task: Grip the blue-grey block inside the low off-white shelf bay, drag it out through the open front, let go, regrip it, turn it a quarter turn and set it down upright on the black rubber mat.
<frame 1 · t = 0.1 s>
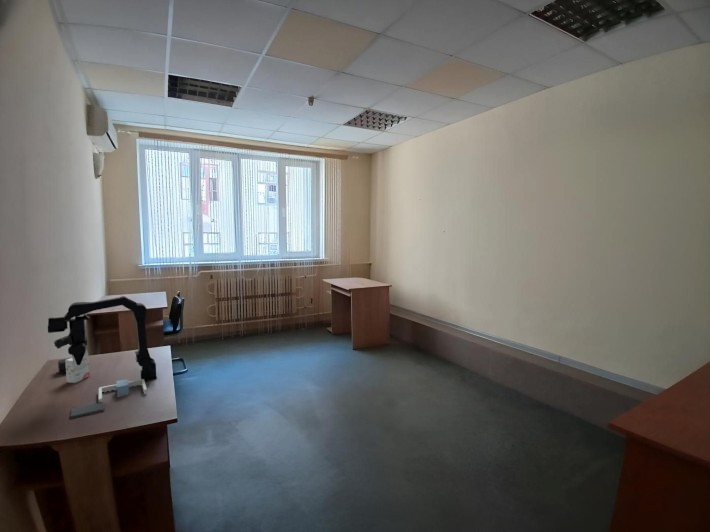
hand: (79, 362, 166), 15 cm above the table, tool pointing down, fingers open, 9 cm apart
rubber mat: (87, 410, 149), on the table
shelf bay: (122, 392, 167), on the table
blank block: (122, 393, 167), on the table
ink cartridge box: (78, 379, 180), on the table
end cap: (70, 371, 191), on the table
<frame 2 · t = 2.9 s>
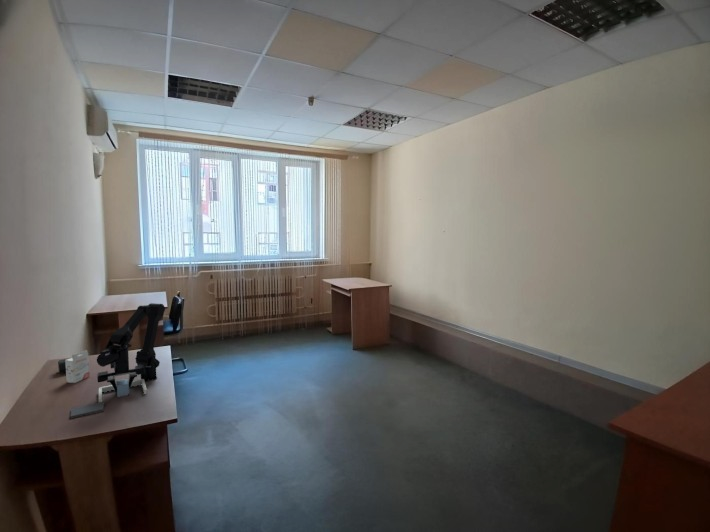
hand: (122, 390, 167), 1 cm above the table, tool pointing down, fingers closed on blank block, 4 cm apart
blank block: (122, 392, 167), on the table, touching gripper
everything else where it was.
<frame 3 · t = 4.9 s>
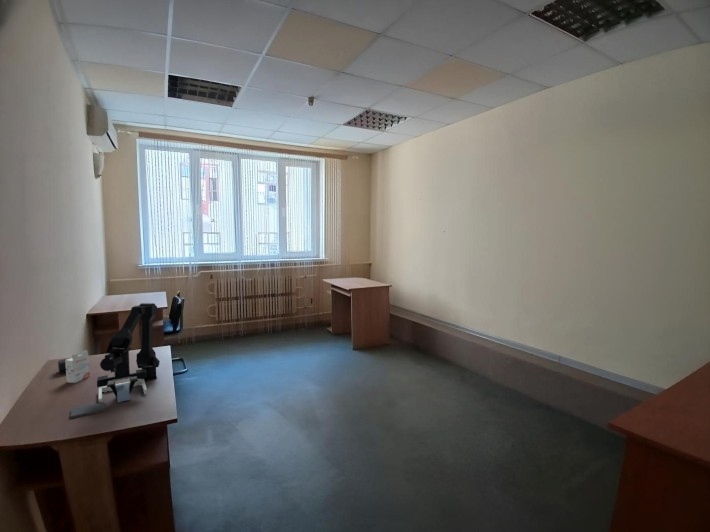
hand: (123, 395, 161), 1 cm above the table, tool pointing down, fingers closed on blank block, 4 cm apart
blank block: (123, 397, 161), on the table, touching gripper
everything else where it was.
when the fingers open (1 cm above the table, at t = 7.1 s): blank block stays where it is, on the table.
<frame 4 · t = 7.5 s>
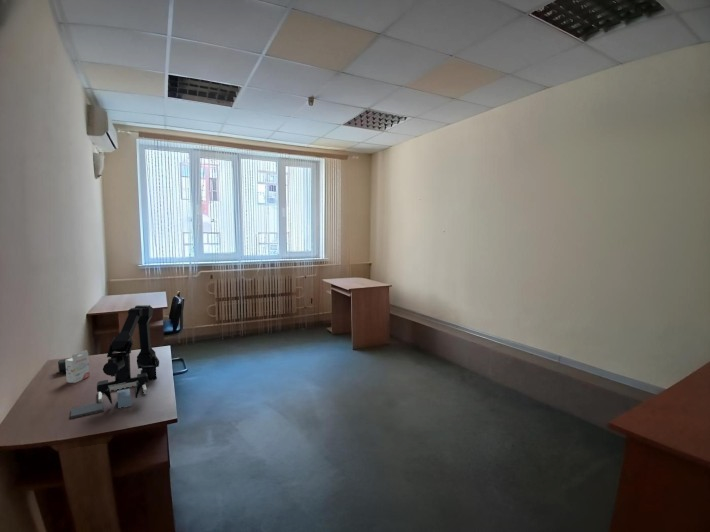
hand: (124, 400, 156), 1 cm above the table, tool pointing down, fingers open, 9 cm apart
blank block: (124, 403, 156), on the table
everything else where it was.
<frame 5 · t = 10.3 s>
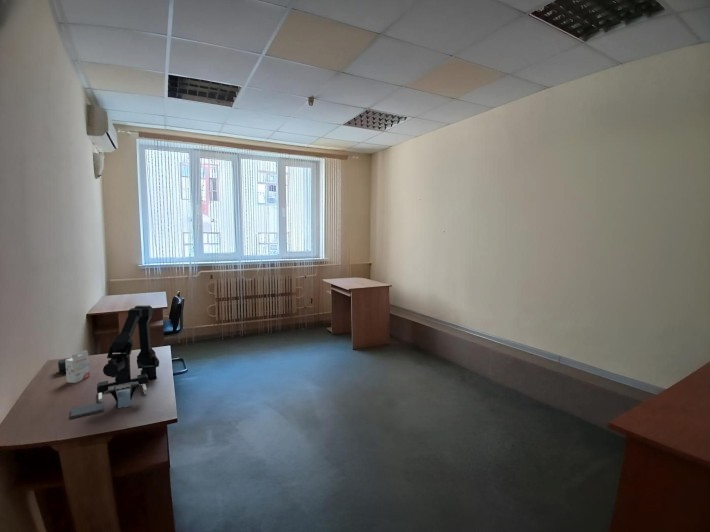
hand: (124, 401, 156), 1 cm above the table, tool pointing down, fingers closed on blank block, 4 cm apart
blank block: (124, 403, 156), on the table, touching gripper
everything else where it was.
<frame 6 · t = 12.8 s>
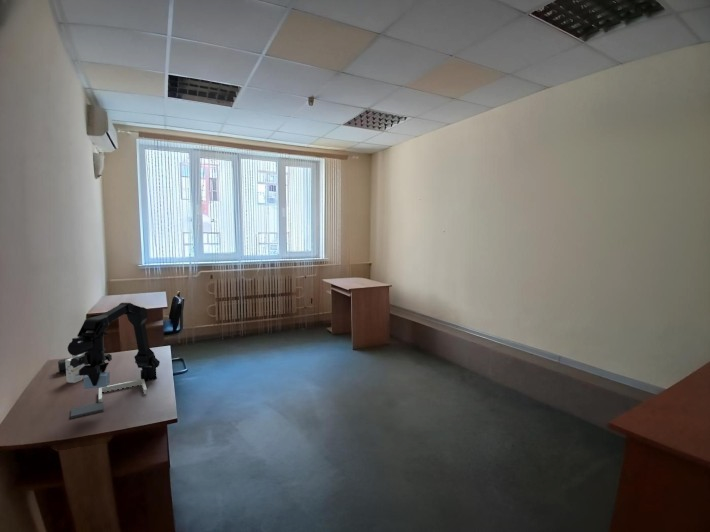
hand: (96, 383, 150), 11 cm above the table, tool pointing down, fingers closed on blank block, 4 cm apart
blank block: (97, 385, 150), point 10 cm above the table, touching gripper
everything else where it was.
when the fingers open (3 cm above the table, at t = 14.8 s): blank block drops 1 cm, resting on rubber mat.
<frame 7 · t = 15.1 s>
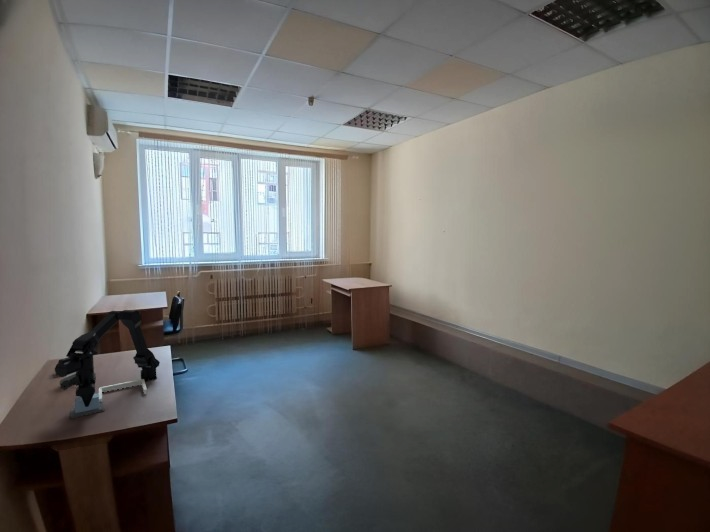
hand: (87, 402, 149), 3 cm above the table, tool pointing down, fingers open, 7 cm apart
blank block: (87, 408, 149), point 1 cm above the table, touching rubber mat
everything else where it was.
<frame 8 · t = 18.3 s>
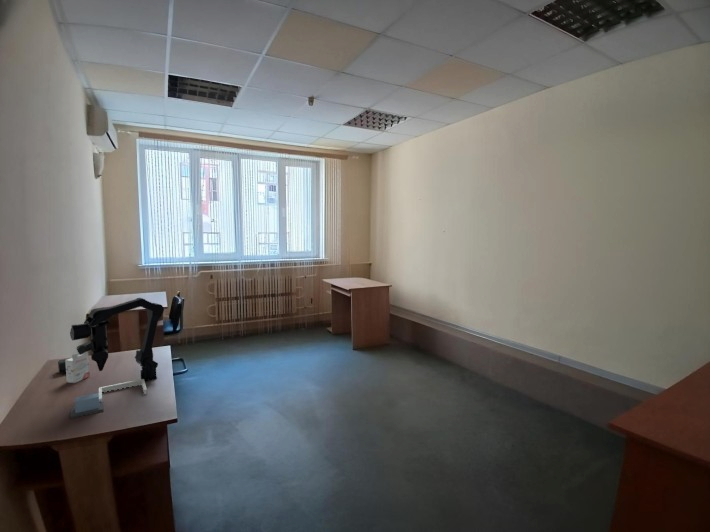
hand: (100, 367, 166), 12 cm above the table, tool pointing down, fingers open, 9 cm apart
nothing on the table moved.
at the end: blank block inside the target area on the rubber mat (0.1 cm from its centre), point 1.0 cm above the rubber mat's base; blank block tilted 0°; the gripper is holding nothing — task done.
